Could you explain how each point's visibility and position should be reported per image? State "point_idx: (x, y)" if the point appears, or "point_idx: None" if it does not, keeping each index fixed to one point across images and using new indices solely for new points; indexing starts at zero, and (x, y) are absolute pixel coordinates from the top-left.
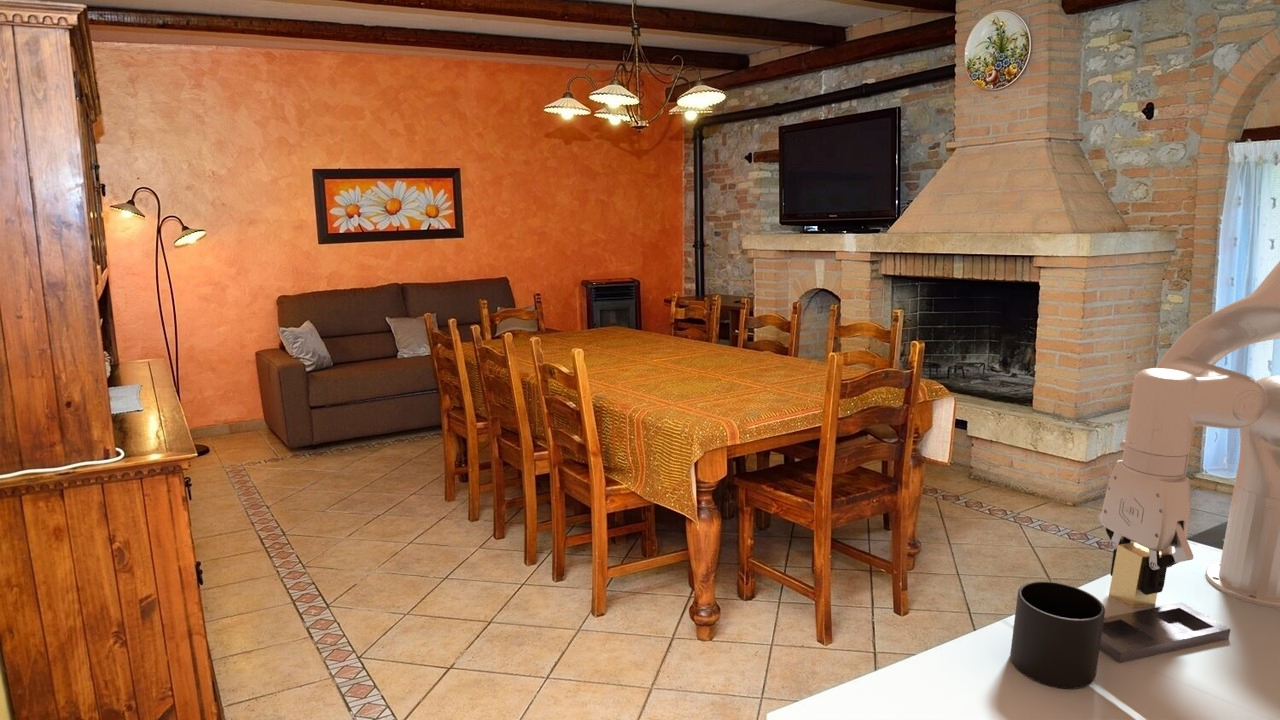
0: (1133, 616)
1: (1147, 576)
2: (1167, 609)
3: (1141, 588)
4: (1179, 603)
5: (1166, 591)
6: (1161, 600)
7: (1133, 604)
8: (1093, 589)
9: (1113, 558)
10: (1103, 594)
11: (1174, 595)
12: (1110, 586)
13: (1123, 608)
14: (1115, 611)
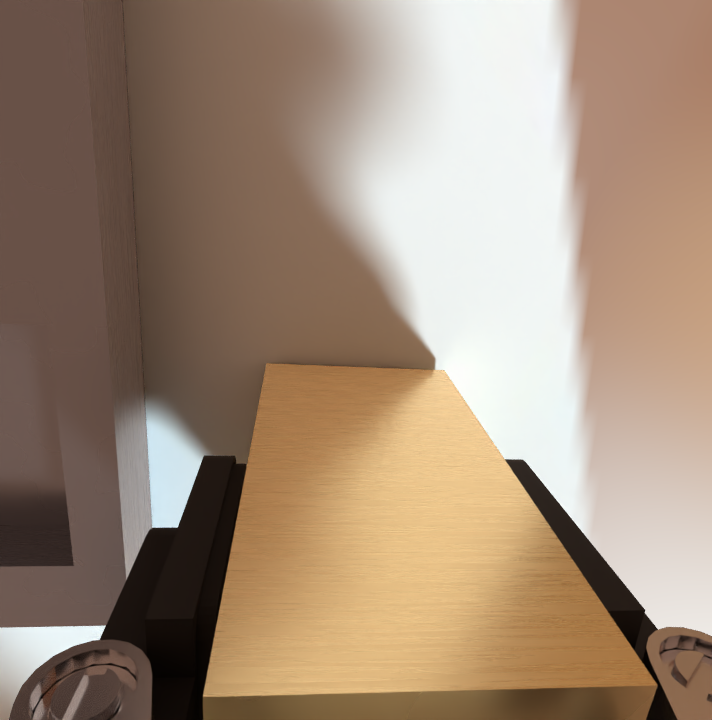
0: (36, 151)
1: (171, 550)
2: (73, 480)
3: (240, 471)
4: None
5: None
6: None
7: (263, 379)
8: (549, 371)
9: (585, 547)
10: (484, 377)
11: None
12: (461, 397)
13: (319, 350)
14: (308, 271)
